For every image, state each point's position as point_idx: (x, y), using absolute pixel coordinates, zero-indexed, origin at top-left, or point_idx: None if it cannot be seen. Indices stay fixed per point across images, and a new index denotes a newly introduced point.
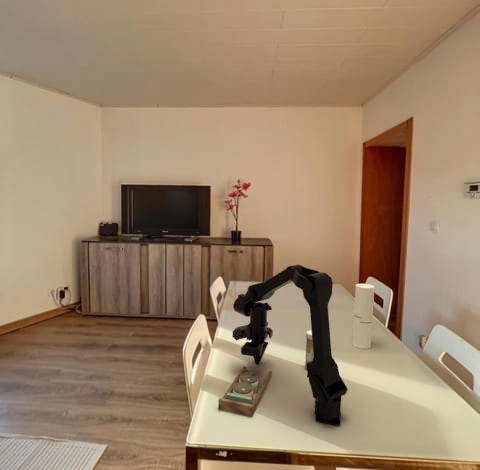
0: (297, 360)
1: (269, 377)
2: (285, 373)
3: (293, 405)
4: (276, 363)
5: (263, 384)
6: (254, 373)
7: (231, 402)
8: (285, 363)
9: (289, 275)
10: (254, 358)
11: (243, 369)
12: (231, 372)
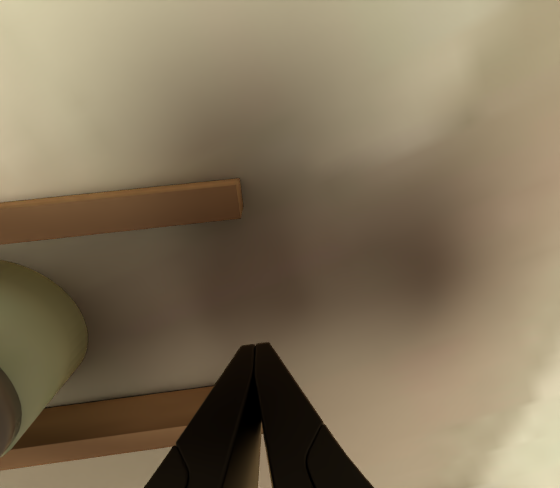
0: (536, 446)
1: None
2: (344, 444)
3: None
4: (465, 360)
5: (38, 455)
6: (5, 434)
7: None
8: (479, 405)
9: None
10: (199, 420)
11: (164, 215)
12: (147, 64)
